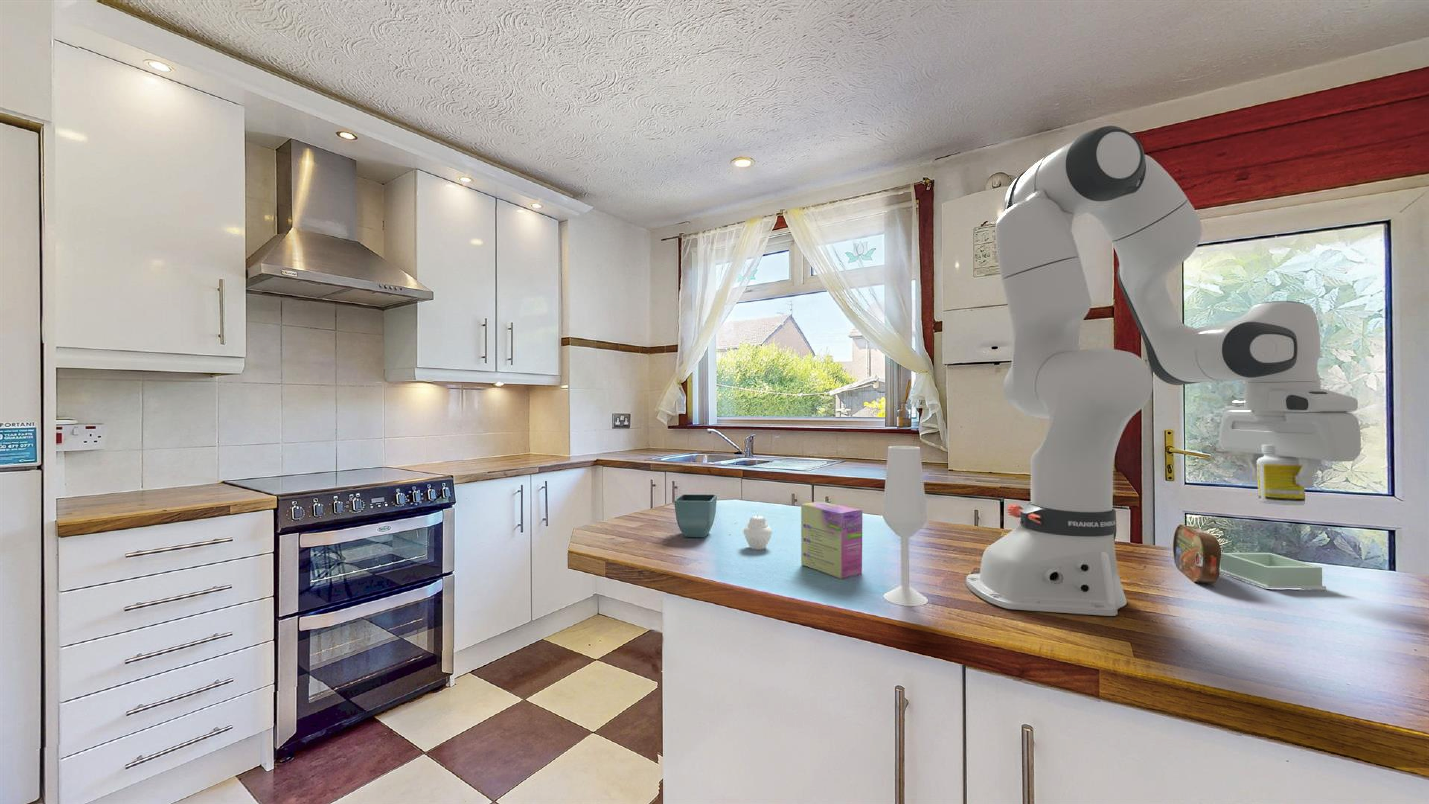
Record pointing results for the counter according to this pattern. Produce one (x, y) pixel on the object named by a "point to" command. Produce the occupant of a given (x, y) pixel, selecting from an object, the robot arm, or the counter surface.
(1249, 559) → the tray
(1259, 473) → the supplement bottle
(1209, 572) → the tin
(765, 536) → the white rounded piece
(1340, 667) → the counter surface
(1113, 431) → the robot arm
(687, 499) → the flower pot
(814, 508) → the box
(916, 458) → the champagne flute
